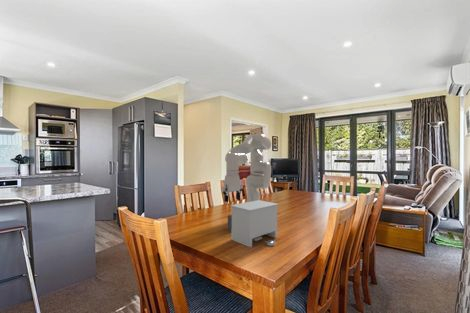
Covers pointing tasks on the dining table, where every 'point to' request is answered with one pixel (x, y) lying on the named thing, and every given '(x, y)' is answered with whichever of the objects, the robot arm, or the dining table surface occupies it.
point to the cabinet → (253, 221)
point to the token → (270, 243)
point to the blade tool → (231, 228)
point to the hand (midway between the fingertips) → (232, 200)
